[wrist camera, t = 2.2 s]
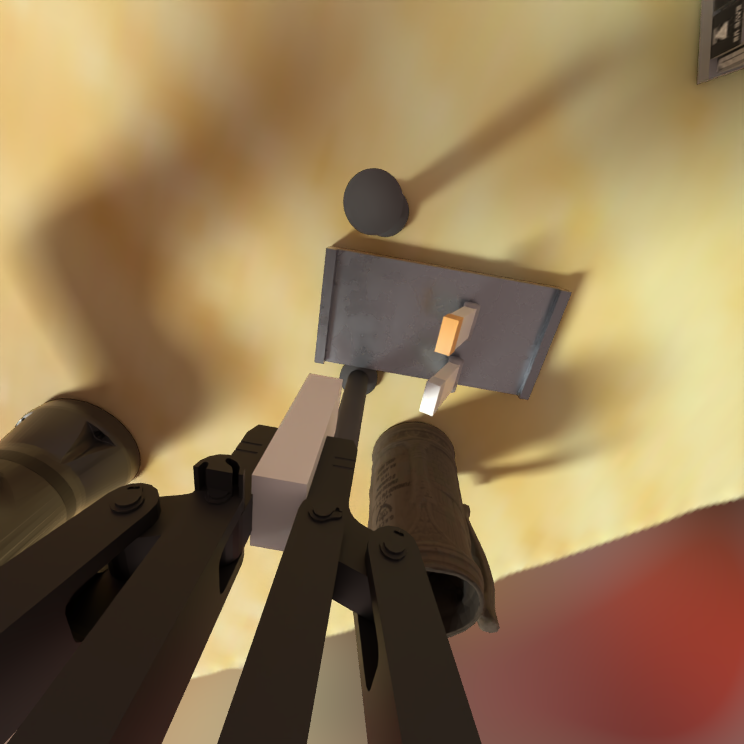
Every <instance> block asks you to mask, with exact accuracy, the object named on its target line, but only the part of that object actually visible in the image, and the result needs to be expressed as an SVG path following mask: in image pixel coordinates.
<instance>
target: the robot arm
mask: <svg viewBox="0 0 744 744" xmlns="http://www.w3.org/2000/svg"><path fill="white" fill-rule="evenodd" d="M342 382H343V379H339V378H333V377H327V376H322V375H316V374H311V373H309V375H308V377H307V378H306V380H305V382H304V384H303V385H302V387H301V389H300V391H299V392H298V394H297V396H296V398H295V400H294V401H293V403H292V405H291V407H290V408H289V410H288V412H287V414H286V415H285V417H284V419H283V421H282V422H281V424H280V426H279V428H275V427H270V426H264V425H257V426H256V427H254V428H253V429H251V430H249V431H248V432H247V433H246V435H245V436H244V438H243V439H242V440H241V443H239V445H238V446H237V448H236V450H234V452H233V453H232V455H223V454H219V455H214V456H209V457H207V458H204V459H202V460H200V461H199V462H198V463H197V464H195V465H194V466H193V469H194V484H195V491H194V492H193V493H190V494H184V495H175V496H162V497H159V494H158V490H157V489H156V488H155V487H153V486H152V485H149V484H144V483H136V484H129V485H127V484H128V483H129V482H130V481H131V480H132V479H133V478H134V477H135V476H136V474H137V472H138V470H139V466H140V455H139V451H138V448H137V445H136V443H135V441H134V439H133V438H132V436H131V435H130V433H129V432H128V431H127V429H126V428H125V427H124V426H123V425H122V424H121V423H120V422H119V421H118V420H117V419H115V418H114V417H113V416H111V415H110V414H109V413H107V412H106V411H104V410H102V409H100V408H98V407H96V406H94V405H91V404H89V403H86V402H82V401H78V400H72V399H57V400H52V401H49V402H47V403H44V404H43V405H41V406H39V407H37V408H35V409H33V410H31V411H30V412H28V413H27V414H25V415H24V416H23V417H22V418H21V419H20V420H19V421H18V423H17V424H16V426H15V428H14V429H13V430H12V431H11V432H10V433H8V434H7V435H6V436H5V437H4V438H3V439H2V440H1V441H0V744H4V743H5V742H6V741H7V740H8V739H9V738H10V737H11V736H12V735H13V733H14V732H15V731H16V730H17V731H16V732H15V734H14V735H13V736H12V738H11V739H10V740H9V742H8V743H7V744H162V742H163V739H164V737H165V735H166V733H167V730H168V728H169V726H170V724H171V721H172V719H173V717H174V715H175V712H176V710H177V708H178V706H179V703H180V701H181V699H182V697H183V695H184V692H185V690H186V688H187V686H188V683H189V681H190V679H191V677H192V674H193V672H194V670H195V668H196V665H197V663H198V661H199V659H200V657H201V654H202V652H203V650H204V648H205V645H206V643H207V641H208V639H209V636H210V634H211V632H212V630H213V627H214V625H215V623H216V621H217V618H218V616H219V614H220V612H221V609H222V607H223V605H224V603H225V601H226V598H227V596H228V594H229V592H230V589H231V587H232V585H233V583H234V580H235V578H236V576H237V574H238V571H239V569H240V567H241V565H242V562H243V557H244V547H245V544H246V542H247V540H248V538H249V536H250V545H251V546H257V547H263V548H268V549H274V550H280V551H284V552H283V555H282V558H281V560H280V563H279V566H278V569H277V572H276V575H275V578H274V581H273V584H272V587H271V589H270V592H269V595H268V598H267V601H266V604H265V607H264V610H263V613H262V616H261V618H260V621H259V624H258V627H257V630H256V633H255V636H254V639H253V642H252V645H251V647H250V650H249V653H248V656H247V659H246V662H245V665H244V668H243V671H242V674H241V677H240V679H239V682H238V685H237V688H236V691H235V694H234V697H233V700H232V703H231V706H230V708H229V711H228V714H227V717H226V720H225V723H224V726H223V729H222V732H221V734H220V737H219V740H218V743H217V744H307V739H308V733H309V727H310V722H311V716H312V710H313V705H314V699H315V693H316V687H317V681H318V676H319V670H320V664H321V659H322V653H323V647H324V642H325V636H326V630H327V625H328V619H329V613H330V607H331V602H332V599H333V600H335V601H336V602H338V603H340V604H341V605H343V606H345V607H347V608H348V609H350V610H352V611H353V615H354V624H355V633H356V641H357V651H358V660H359V669H360V678H361V686H362V696H363V703H364V704H363V705H364V714H365V722H366V732H367V739H368V744H481V741H480V738H479V735H478V731H477V728H476V725H475V722H474V720H473V716H472V713H471V709H470V707H469V703H468V700H467V697H466V694H465V691H464V688H463V685H462V682H461V678H460V675H459V672H458V669H457V666H456V663H455V660H454V657H453V654H452V650H451V648H450V644H449V641H448V638H447V635H446V632H445V628H444V625H443V622H442V619H441V616H440V613H439V610H438V607H437V604H436V600H435V597H434V594H433V591H432V588H431V585H430V582H429V579H428V576H427V572H426V569H425V566H424V563H423V560H422V557H421V554H420V551H419V548H418V545H417V543H416V541H415V540H414V538H413V537H412V536H411V535H410V534H409V533H408V532H407V531H405V530H403V529H401V528H399V527H395V526H384V527H379V528H378V529H376V530H375V531H373V530H371V529H369V528H367V527H365V526H364V525H362V524H360V523H359V522H358V521H357V520H356V519H355V518H354V517H353V516H352V514H351V512H350V509H349V497H350V491H351V486H352V480H353V474H354V468H355V462H356V456H357V451H358V450H357V448H356V445H355V443H354V440H348V439H342V438H337V437H334V434H335V431H336V424H337V417H338V410H339V403H340V396H341V389H342Z"/></svg>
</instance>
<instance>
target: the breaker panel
mask: <svg viewBox="0 0 744 744" xmlns="http://www.w3.org/2000/svg"><path fill="white" fill-rule="evenodd" d="M571 293H572V292H570V291H567V290H565V289H562V288H560V287H556V286H550V285H545V284H539V283H534V282H528V281H522V280H517V279H511V278H506V277H500V276H495V275H489V274H484V273H478V272H473V271H467V270H462V269H456V268H450V267H445V266H439V265H434V264H428V263H423V262H417V261H412V260H406V259H401V258H395V257H390V256H384V255H378V254H373V253H367V252H362V251H356V250H351V249H345V248H340V247H334V246H330V247H328V248H326V256H325V266H324V275H323V285H322V294H321V304H320V314H319V323H318V333H317V343H316V352H315V362H316V363H322V364H324V362H325V361H328V362H333V363H339V364H345V365H350V366H356V367H362V368H367V369H373V370H379V371H384V372H390V373H396V374H401V375H407V376H413V377H418V378H424V379H430V378H431V377H432V376H434V375H435V374H436V373H437V372H438V371H439V370H441V369H442V368H443V367H444V366H445V365H446V364H447V363H448V360H449V357H450V356H456V357H459V358H462V359H463V360H464V364H463V367H462V370H461V373H460V377H459V380H458V383H457V384H458V385H464V386H469V387H475V388H481V389H486V390H492V391H498V392H503V393H509V394H515V395H517V396H518V397H519V398H520V399H526V400H528V399H529V397H530V394H531V392H532V389H533V387H534V384H535V382H536V380H537V377H538V375H539V372H540V370H541V367H542V365H543V362H544V360H545V357H546V355H547V352H548V350H549V347H550V345H551V343H552V340H553V338H554V335H555V333H556V330H557V328H558V325H559V323H560V320H561V318H562V315H563V313H564V310H565V308H566V306H567V303H568V301H569V298H570V296H571ZM465 302H473V303H477V304H480V305H481V307H480V310H479V314H478V317H477V320H476V324H475V327H474V330H473V334H472V337H471V340H470V341H464V342H463V343H462V344H461V345H460V346H459V347H457V348H456V349H455V350H454V352H453V353H452V354H451V355H450V356H447V355H444V354H441V353H438V352H435V348H436V344H437V340H438V336H439V332H440V328H441V325H442V321H443V317H444V316H445V315H447V314H451V313H453V312H455V311H456V310H458V309H460V308H462V307H463V306H464V303H465Z"/></svg>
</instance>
